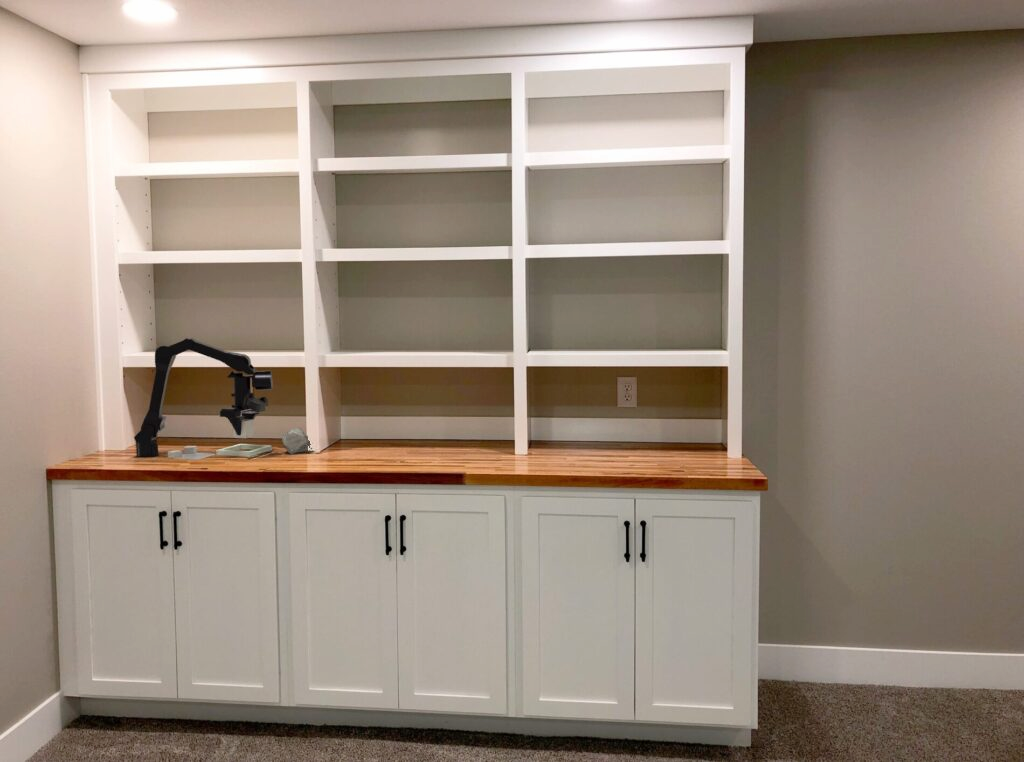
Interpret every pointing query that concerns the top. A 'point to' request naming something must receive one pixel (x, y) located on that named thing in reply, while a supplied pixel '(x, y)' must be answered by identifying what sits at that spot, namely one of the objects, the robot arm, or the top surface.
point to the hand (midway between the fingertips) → (243, 434)
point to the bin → (254, 451)
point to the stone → (296, 441)
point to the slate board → (188, 453)
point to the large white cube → (245, 429)
